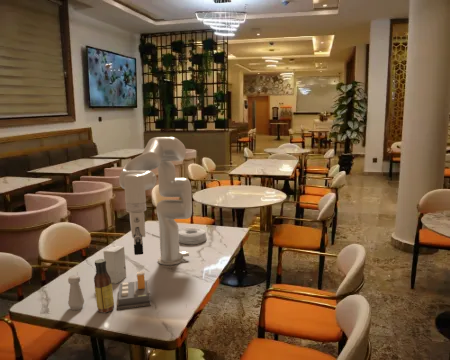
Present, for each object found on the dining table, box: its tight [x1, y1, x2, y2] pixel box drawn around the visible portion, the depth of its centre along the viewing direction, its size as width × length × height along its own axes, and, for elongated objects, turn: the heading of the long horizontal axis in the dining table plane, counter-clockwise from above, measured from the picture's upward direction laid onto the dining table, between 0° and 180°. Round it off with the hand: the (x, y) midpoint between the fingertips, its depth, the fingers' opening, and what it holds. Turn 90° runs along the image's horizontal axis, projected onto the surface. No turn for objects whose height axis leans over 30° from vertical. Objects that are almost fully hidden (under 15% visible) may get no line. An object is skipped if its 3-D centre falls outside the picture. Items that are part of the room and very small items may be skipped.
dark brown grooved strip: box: [117, 300, 151, 310], centre depth 152 cm, size 12×2×1 cm, turn 103°
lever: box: [136, 270, 146, 289], centre depth 161 cm, size 3×2×7 cm
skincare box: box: [103, 245, 127, 285], centre depth 176 cm, size 8×6×15 cm
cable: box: [179, 227, 208, 245], centre depth 230 cm, size 18×18×6 cm
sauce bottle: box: [93, 258, 115, 313], centre depth 149 cm, size 6×6×20 cm
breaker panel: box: [118, 279, 151, 305], centre depth 161 cm, size 12×15×4 cm
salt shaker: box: [67, 274, 85, 312], centre depth 151 cm, size 6×6×13 cm
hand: (138, 250), depth 150 cm, fingers open, 9 cm apart
